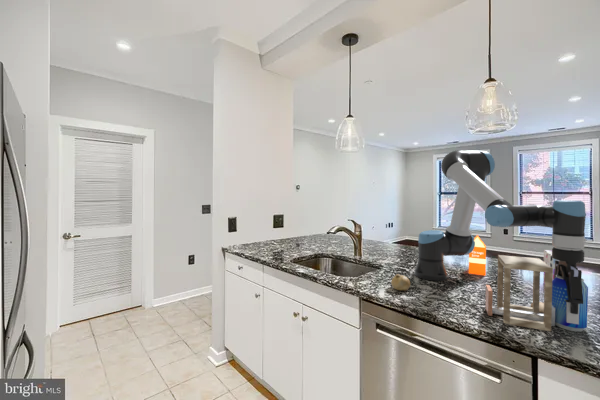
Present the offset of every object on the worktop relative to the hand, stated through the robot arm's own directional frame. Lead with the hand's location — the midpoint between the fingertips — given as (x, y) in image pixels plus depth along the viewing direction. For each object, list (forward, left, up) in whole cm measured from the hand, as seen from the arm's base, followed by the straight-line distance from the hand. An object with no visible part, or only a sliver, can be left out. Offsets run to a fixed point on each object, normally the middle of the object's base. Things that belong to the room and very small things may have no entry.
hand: (566, 316), depth 90 cm
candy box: (+8, +42, -3) cm, 43 cm away
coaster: (-1, +13, -3) cm, 13 cm away
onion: (-53, +11, -3) cm, 54 cm away
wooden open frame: (-12, 0, -3) cm, 12 cm away
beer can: (+1, 0, -3) cm, 3 cm away
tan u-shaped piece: (-12, 0, -3) cm, 13 cm away
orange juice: (-20, +57, -3) cm, 60 cm away
